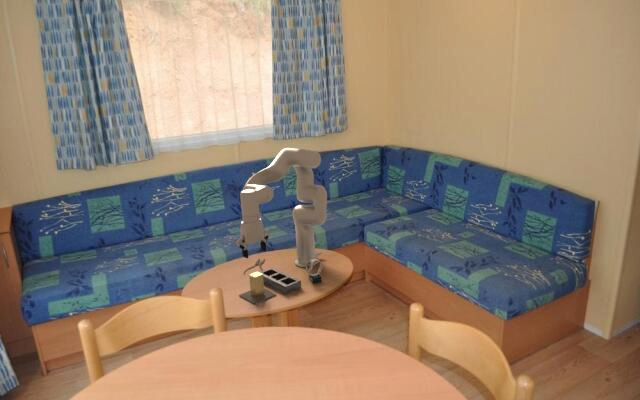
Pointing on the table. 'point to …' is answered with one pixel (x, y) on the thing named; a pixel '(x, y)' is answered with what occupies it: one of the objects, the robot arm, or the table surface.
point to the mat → (257, 300)
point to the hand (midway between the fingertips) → (254, 253)
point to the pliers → (256, 265)
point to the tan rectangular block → (256, 284)
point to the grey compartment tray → (280, 281)
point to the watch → (315, 276)
